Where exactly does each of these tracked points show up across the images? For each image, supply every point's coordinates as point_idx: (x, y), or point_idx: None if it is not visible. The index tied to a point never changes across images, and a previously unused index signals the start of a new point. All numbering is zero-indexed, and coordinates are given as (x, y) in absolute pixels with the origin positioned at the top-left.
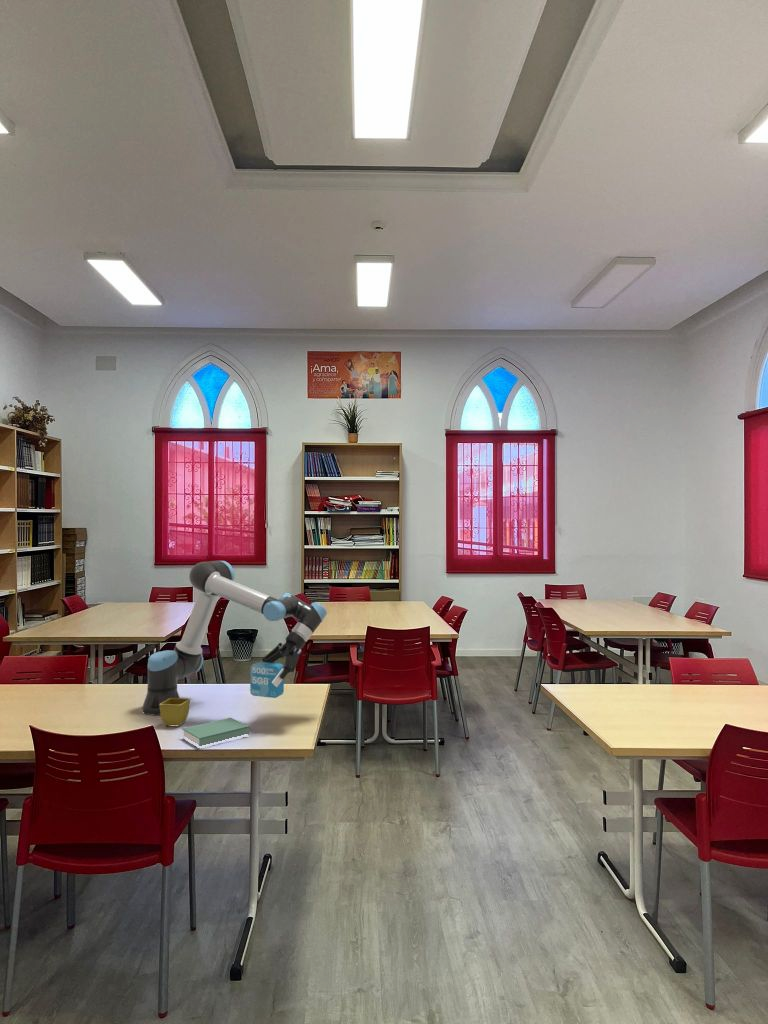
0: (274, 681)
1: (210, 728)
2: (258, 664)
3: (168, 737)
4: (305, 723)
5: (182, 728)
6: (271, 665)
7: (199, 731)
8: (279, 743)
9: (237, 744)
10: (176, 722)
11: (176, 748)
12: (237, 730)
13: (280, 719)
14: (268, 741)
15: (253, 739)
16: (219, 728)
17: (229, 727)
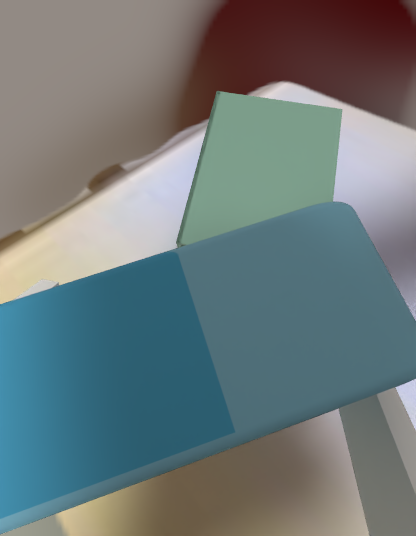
0: (28, 294)
1: (270, 155)
2: (247, 229)
3: (372, 119)
4: (100, 520)
5: (341, 109)
6: (25, 304)
7: (272, 121)
8: (50, 272)
9: (159, 193)
10: None
11: (272, 90)
12: (188, 202)
13: (237, 490)
14: (94, 264)
15: (150, 248)
16: (246, 171)
17: (227, 196)
